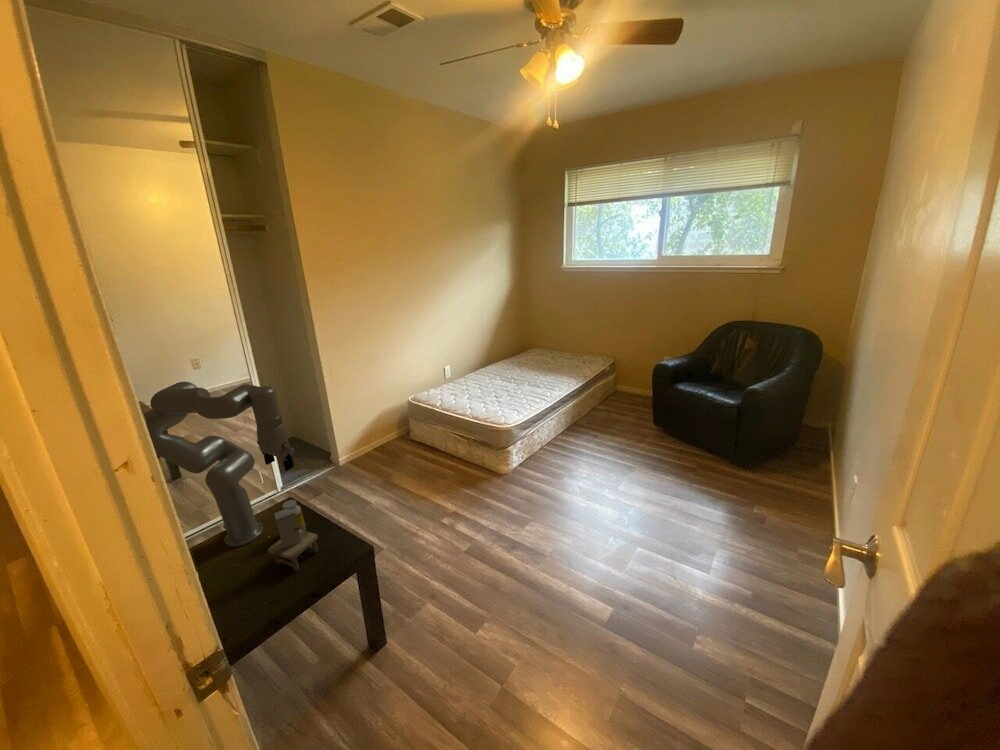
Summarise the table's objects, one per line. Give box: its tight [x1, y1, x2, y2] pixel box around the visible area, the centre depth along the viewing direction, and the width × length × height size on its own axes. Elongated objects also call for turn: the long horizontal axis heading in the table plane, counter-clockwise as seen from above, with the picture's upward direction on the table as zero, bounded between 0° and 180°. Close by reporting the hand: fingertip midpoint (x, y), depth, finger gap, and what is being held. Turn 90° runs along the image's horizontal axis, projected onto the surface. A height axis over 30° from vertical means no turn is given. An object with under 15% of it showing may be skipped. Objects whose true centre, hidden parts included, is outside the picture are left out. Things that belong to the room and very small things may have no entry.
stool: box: [267, 529, 319, 572], centre depth 140 cm, size 11×11×7 cm
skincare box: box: [274, 507, 302, 549], centre depth 137 cm, size 6×4×12 cm
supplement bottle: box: [281, 499, 307, 531], centre depth 152 cm, size 7×7×13 cm
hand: (279, 465), depth 142 cm, fingers open, 9 cm apart
